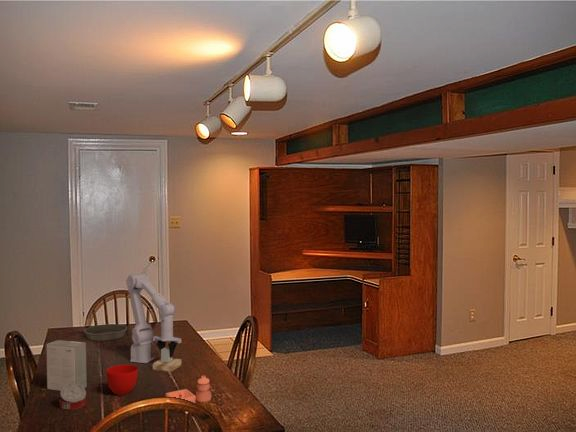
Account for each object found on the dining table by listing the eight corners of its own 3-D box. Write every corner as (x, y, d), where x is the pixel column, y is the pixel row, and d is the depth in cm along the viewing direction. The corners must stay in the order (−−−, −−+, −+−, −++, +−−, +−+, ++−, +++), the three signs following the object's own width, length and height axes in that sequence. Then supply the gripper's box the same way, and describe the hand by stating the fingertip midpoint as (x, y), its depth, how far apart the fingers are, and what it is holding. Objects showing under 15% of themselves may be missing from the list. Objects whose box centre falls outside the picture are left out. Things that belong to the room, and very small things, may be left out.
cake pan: (116, 328, 348) (116, 321, 348) (134, 336, 330) (134, 329, 330) (77, 335, 331) (77, 328, 331) (94, 344, 313) (94, 336, 313)
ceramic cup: (121, 382, 249) (121, 360, 248) (144, 391, 238) (144, 368, 238) (95, 390, 239) (95, 368, 238) (118, 400, 228) (117, 376, 228)
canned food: (83, 412, 228) (95, 390, 229) (74, 419, 218) (87, 396, 218) (59, 399, 228) (70, 377, 229) (49, 406, 218) (61, 383, 219)
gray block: (161, 361, 269) (160, 349, 269) (165, 359, 273) (165, 347, 273) (168, 362, 268) (168, 350, 268) (172, 360, 272) (172, 347, 271)
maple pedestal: (152, 369, 268) (152, 363, 268) (163, 363, 277) (163, 357, 277) (171, 371, 265) (171, 365, 265) (181, 365, 274) (181, 359, 274)
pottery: (174, 411, 218) (173, 386, 217) (165, 403, 226) (165, 379, 225) (215, 401, 227) (215, 378, 227) (206, 394, 235) (206, 371, 235)
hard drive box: (87, 387, 243) (86, 342, 242) (75, 393, 236) (74, 347, 235) (58, 383, 248) (58, 339, 247) (46, 389, 241) (45, 343, 240)
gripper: (149, 329, 269) (149, 357, 269) (176, 331, 264) (176, 360, 265) (157, 326, 275) (157, 353, 276) (183, 328, 271) (183, 356, 272)
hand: (167, 356), depth 271 cm, fingers closed on gray block, 4 cm apart
